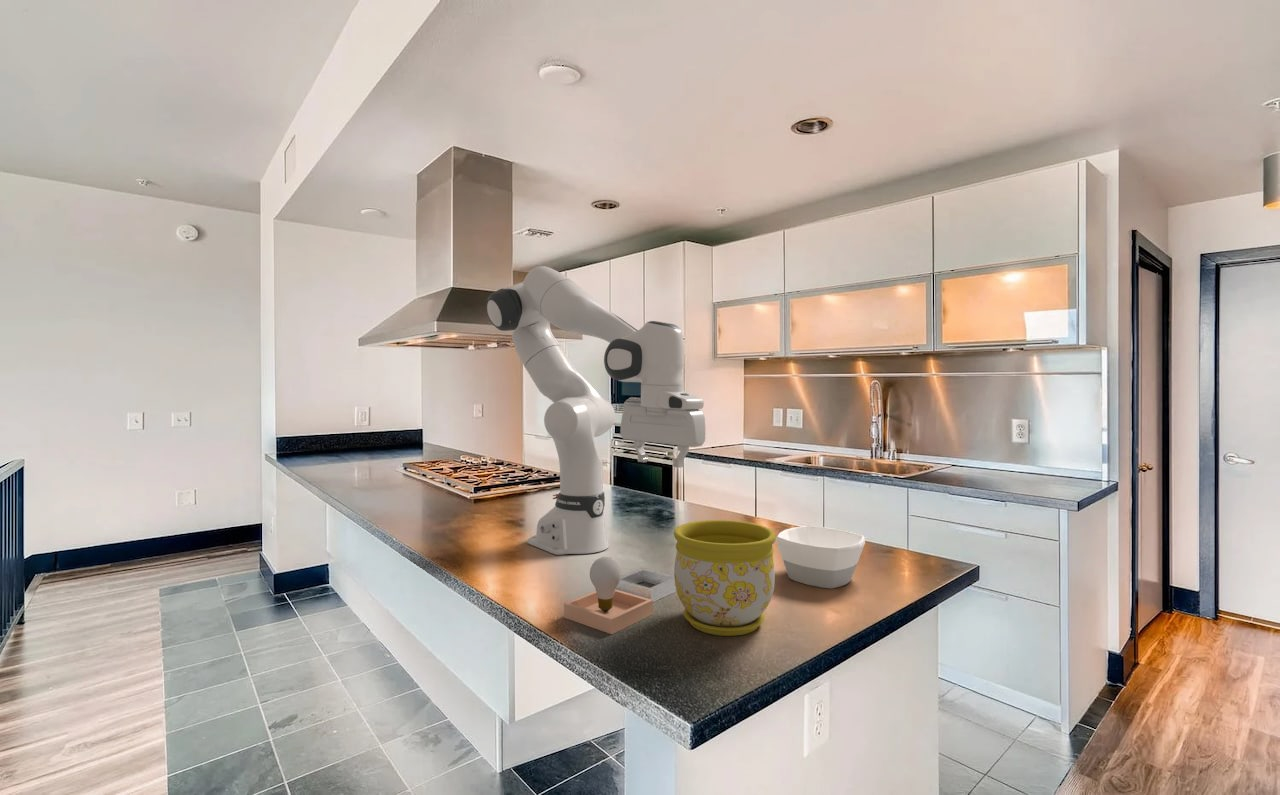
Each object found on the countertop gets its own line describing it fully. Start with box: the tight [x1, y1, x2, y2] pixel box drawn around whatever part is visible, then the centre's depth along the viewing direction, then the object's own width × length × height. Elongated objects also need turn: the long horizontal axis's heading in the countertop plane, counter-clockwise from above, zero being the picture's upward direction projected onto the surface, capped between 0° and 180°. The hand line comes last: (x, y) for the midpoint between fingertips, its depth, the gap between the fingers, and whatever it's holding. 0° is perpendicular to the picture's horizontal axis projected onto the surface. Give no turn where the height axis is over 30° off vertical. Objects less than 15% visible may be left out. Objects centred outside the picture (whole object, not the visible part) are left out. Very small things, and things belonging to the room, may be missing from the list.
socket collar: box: [616, 567, 677, 603], centre depth 125 cm, size 10×10×2 cm
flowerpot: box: [673, 519, 777, 637], centre depth 108 cm, size 18×18×16 cm
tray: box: [563, 589, 654, 635], centre depth 111 cm, size 12×12×3 cm
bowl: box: [775, 525, 866, 590], centre depth 132 cm, size 18×18×9 cm
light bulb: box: [589, 556, 623, 612], centre depth 112 cm, size 6×6×10 cm
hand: (660, 464), depth 127 cm, fingers open, 8 cm apart
